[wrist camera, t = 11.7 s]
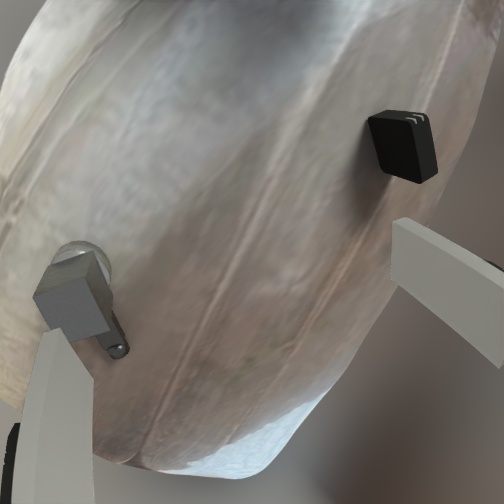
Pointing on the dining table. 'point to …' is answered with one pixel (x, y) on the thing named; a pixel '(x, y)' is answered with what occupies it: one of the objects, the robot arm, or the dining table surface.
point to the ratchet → (114, 337)
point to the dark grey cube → (75, 297)
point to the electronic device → (404, 144)
